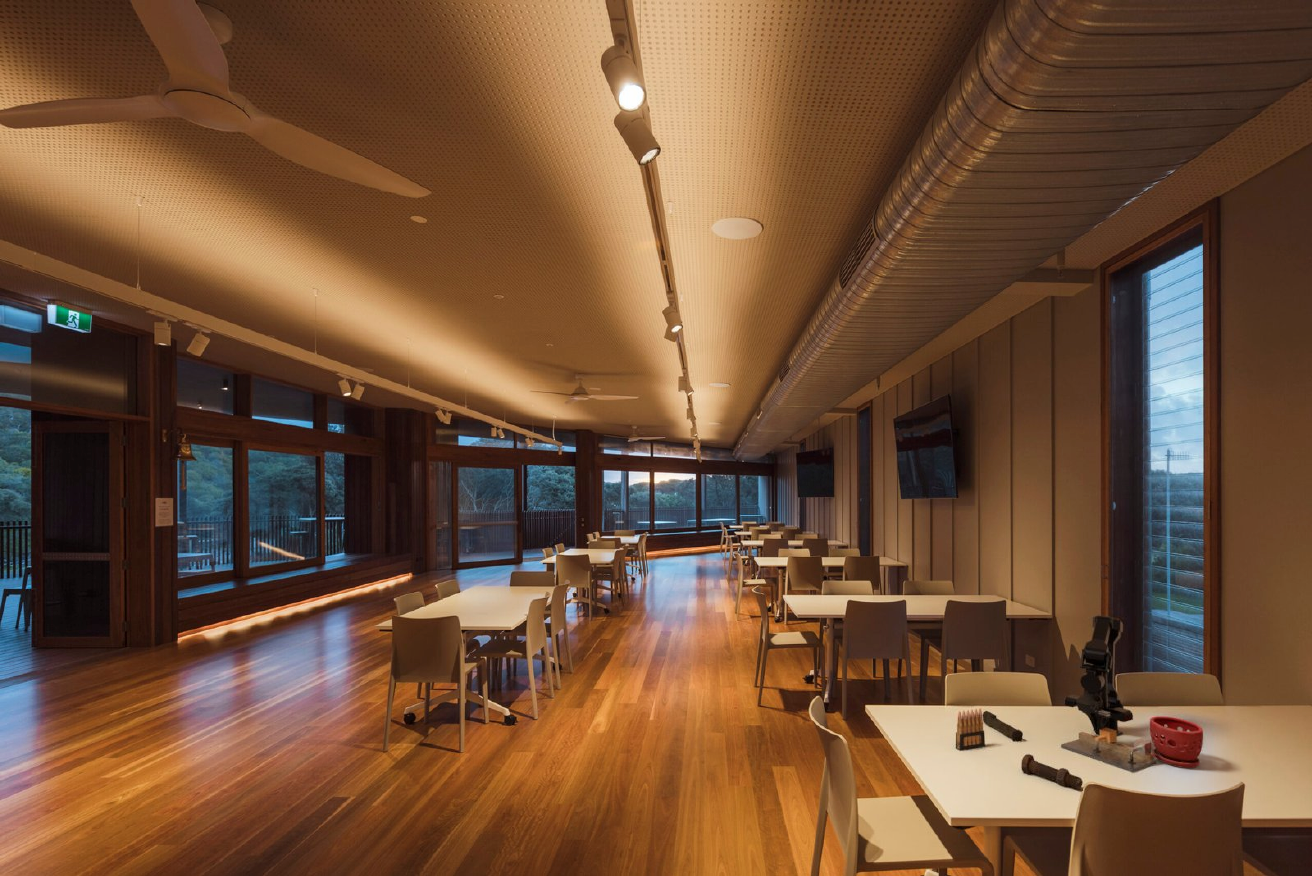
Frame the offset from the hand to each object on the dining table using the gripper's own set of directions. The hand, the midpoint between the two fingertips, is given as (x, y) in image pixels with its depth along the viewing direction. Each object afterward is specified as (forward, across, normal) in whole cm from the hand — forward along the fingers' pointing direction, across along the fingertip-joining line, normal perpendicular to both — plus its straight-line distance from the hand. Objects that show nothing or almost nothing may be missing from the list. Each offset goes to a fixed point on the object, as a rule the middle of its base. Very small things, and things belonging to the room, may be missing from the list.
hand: (1097, 734), depth 220 cm
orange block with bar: (+3, +3, -2) cm, 5 cm away
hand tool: (+4, -24, -16) cm, 29 cm away
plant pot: (+4, +18, +10) cm, 21 cm away
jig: (+4, +5, -4) cm, 8 cm away
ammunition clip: (+4, -19, -38) cm, 43 cm away
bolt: (+4, +8, -39) cm, 40 cm away
